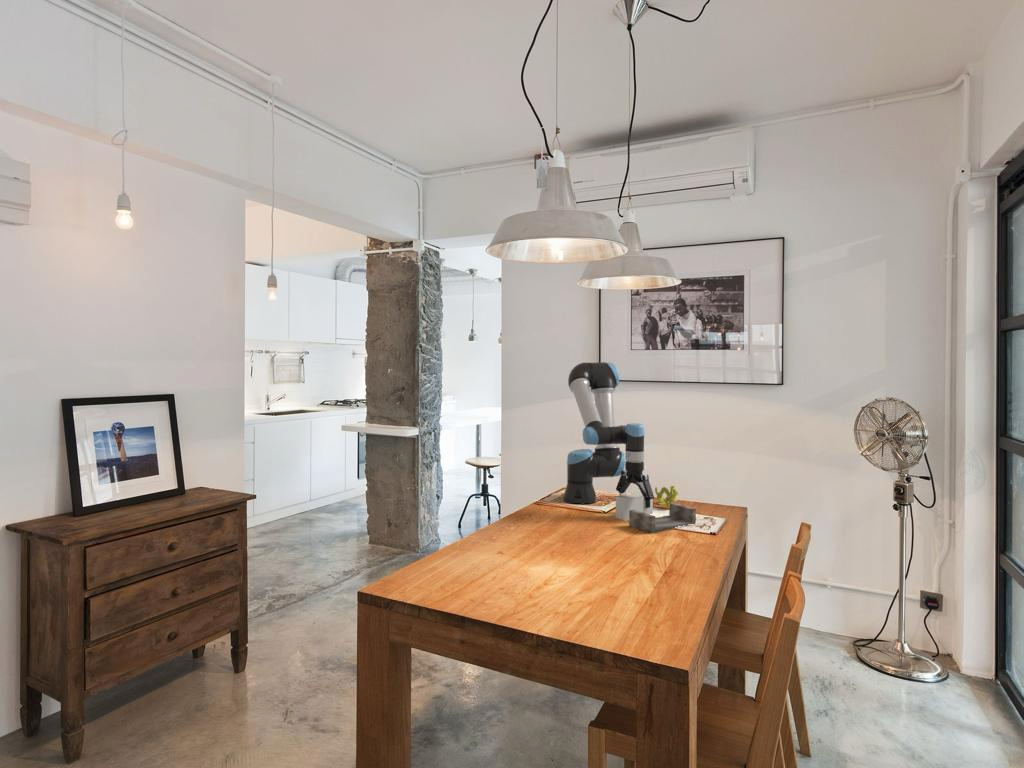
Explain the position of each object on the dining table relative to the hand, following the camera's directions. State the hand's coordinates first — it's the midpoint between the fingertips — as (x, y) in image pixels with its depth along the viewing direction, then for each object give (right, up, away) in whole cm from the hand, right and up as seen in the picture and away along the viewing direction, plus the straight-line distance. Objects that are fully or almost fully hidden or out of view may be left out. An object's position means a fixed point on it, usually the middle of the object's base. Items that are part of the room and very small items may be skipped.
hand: (634, 511), depth 248 cm
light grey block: (0, -2, 0) cm, 2 cm away
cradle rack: (+8, -2, -14) cm, 16 cm away
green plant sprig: (+17, -1, +18) cm, 25 cm away
